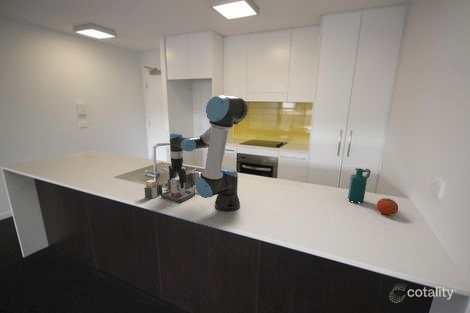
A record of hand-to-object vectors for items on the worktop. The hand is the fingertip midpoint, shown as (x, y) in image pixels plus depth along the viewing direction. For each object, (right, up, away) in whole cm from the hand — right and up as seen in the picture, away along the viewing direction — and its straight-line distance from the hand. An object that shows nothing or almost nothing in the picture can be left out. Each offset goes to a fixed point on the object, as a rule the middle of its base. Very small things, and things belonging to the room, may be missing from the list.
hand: (178, 191), depth 143 cm
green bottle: (+118, -6, -1) cm, 118 cm away
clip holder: (-14, -2, +5) cm, 15 cm away
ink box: (0, -3, +1) cm, 3 cm away
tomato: (+125, -10, -18) cm, 127 cm away
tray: (0, -3, +1) cm, 3 cm away
